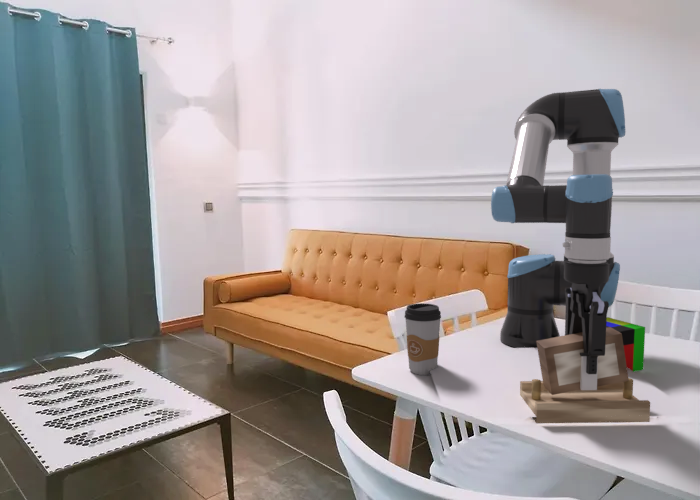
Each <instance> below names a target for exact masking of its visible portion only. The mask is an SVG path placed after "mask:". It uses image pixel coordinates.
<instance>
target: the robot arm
mask: <svg viewBox="0 0 700 500" xmlns="http://www.w3.org/2000/svg"><path fill="white" fill-rule="evenodd" d="M513 134H514V138H515V145H514V150H513V154H512V158H511V162H510V166H509V171H508V175H507V179H506V184H505V185H501V186H496V187H494V188H493V190H492V193H491V203H490V206H491V207H490V209H491V216H492V219H493V220H494V221H495V222H497V223H510V224H516V223H517V224H520V223H521V224H529V223H531V224H535V223H536V224H538V223H541V224H543V223H545V224H547V223H548V224H565V232H564V236H565V237H564V238H565V239H564V242H562V248H564V253H563V260H556V257H555V255H554V254H552V253H550V254H548V253H547V254H545V253H544V254H543V253H542V254H530V255H522V256H518V257H514V258H512V259H511V260H510V261H509V263H508V270H507V312H506V315H505V319H504V321H503V324H502V326H501V330H500V334H499V335H500V337H499V338H500V339H499V340H500V342H501V343H502V344H504V345H507V346H509V347H513V348H516V349H517V348H518V349H526V348H527V349H529V348H530V349H533V348H535V349H537V343H536V341H538V340H544V339H549V338H554V337H560V335H561V334H560V332H559V329H558V325H557V323H556V319H555V317H554V306H562V307H565V314H564V315H565V318H564V320H565V322H564V324H565V325H564V336H565V335H570V334H575V333H581V332H583V348H584V353H580V356H581V378H580V389H581V390H597V372H598V356H604V355H605V343H606V320H607V317H608V316H607V315H608V311H609V308H610V307H611V306H613V304H614V302H615V299H616V295H617V290H618V285H619V279H620V272H621V271H620V270H621V264H620V263H619V262H616V261H615V255H614V254H613V253H612V252H611V243H612V237H611V226H612V225H611V224H612V207H613V196H614V191H613V190H614V189H613V178H612V176H611V163H612V151H613V150H614V149H616V148H617V147H618V145H619V138H622V137H625V135H626V118H625V107H624V101H623V95H622V92H621V91H620V90H618V89H617V88H598V89H585V90H577V91H576V90H575V91H568V92H567V91H565V92H552V93H550V94H547V95H544V96H541V97H540V98H538V99H536V100H535V101H534V102H532V103H531V104H529V105H528V106H527V107H526V108H525V109H524V110H523V111H522V112H521V114H520V115H519V117H518V119H517V120H516V123H515V126H514V133H513ZM558 140H561V141H562V140H563V141H565V140H566V141H567V142H566V144H567V145H566V147H567V148H568V150H570V151H571V152H572V154H573V157H572V175H569V176H568V177H567V180H566V184H564V185H563V184H561V185H558V184H557V185H544V182H545V174H546V168H547V162H548V155H549V147H550V144H551V143H552V142H553V141H558Z"/></svg>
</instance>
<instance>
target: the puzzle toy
mask: <svg viewBox="0 0 700 500" xmlns="http://www.w3.org/2000/svg"><path fill="white" fill-rule="evenodd" d="M607 327H611V328H613V329H615V330H616V331H618V332H620V333H622V339H623V345H624V352H625V359H626V366H627V369H628V370H630V371H631V372H632V373H635V372H639V371H643V370H644V362H645V361H644V360H645V359H644V358H645V343H646V341H645V339H646V327H645V326H642V325H638V324H635V323H631V322H628V321H624V320H619V319H616V318H612V317H608V316H607V320H606V328H607Z"/></svg>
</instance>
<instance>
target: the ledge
mask: <svg viewBox="0 0 700 500" xmlns="http://www.w3.org/2000/svg"><path fill="white" fill-rule="evenodd" d="M628 379H629V381H625V382H620V383H614V384H609V385H603V386H598V387H597V390H576V391H571V392H566V393H560V394H555V395H552V394H551V393H550V392H549V391H548V390H547V389H546V388H545V387H544V385H543V380H540V379H538V378H536V379H535V378H533V379H531V380H524V381H523V380H522V381H519V385H520V386H519V396H520V398H522V400H523V401H524V403H525V404H526V405H527V406H528V408H529V409H530V410H531V412H532V413H533V414H534V416H532V417H531V418H532V419H533V421H534V422H535V424H577V423H578V424H579V423H580V424H582V423H583V424H584V423H585V424H586V423H589V424H590V423H591V424H592V423H593V424H594V423H650V417H651V401H650V400H648V399H642V400H640V399H638V398H637V397H636V396H635V395H633V392H634V379H633V378H630V377H628Z"/></svg>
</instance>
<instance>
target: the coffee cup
mask: <svg viewBox="0 0 700 500" xmlns="http://www.w3.org/2000/svg"><path fill="white" fill-rule="evenodd" d="M404 318H405V327H406V329H405V330H406V331H405V332H406V347H407V358H408V369H409V370H410V372H411V373H412V374H415V375H420V376H427V375H432V373H431V370H434V369H436V368H438V362H439V359H438V358H439V349H440V327H441V318H442V315H441V310H440V307H439V306H438V305H436V304H432V303H425V302H422V303H411V304H409V305H407V306H406V310H404Z"/></svg>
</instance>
